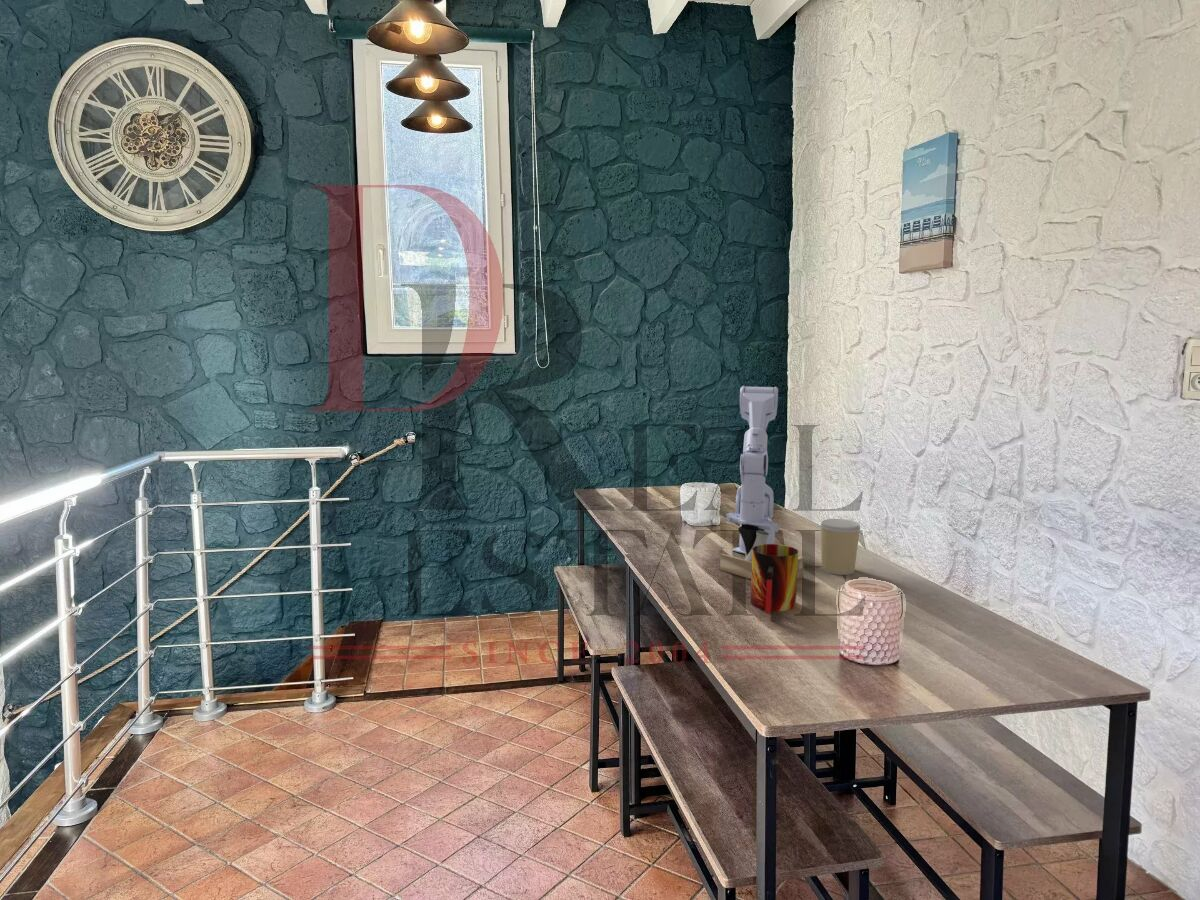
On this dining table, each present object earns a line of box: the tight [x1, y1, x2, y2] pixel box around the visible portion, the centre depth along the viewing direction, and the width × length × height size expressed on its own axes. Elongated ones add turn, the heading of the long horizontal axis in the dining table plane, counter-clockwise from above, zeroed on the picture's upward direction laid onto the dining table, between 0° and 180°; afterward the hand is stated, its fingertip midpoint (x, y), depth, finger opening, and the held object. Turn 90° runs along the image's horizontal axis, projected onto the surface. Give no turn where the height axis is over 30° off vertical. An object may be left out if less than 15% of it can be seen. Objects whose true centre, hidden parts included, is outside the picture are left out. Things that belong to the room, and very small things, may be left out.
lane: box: [719, 551, 805, 581], centre depth 195 cm, size 11×17×5 cm, turn 41°
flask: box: [744, 530, 769, 562], centre depth 195 cm, size 7×7×10 cm
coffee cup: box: [820, 518, 861, 576], centre depth 198 cm, size 9×9×12 cm
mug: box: [750, 543, 799, 614], centre depth 172 cm, size 10×14×12 cm
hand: (750, 555), depth 198 cm, fingers closed, pressing on flask
